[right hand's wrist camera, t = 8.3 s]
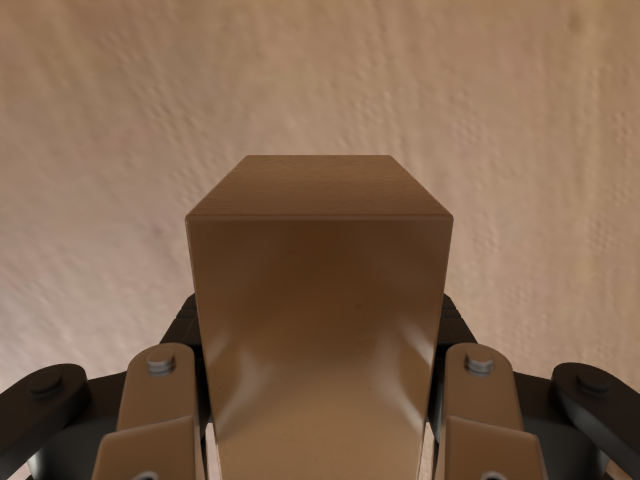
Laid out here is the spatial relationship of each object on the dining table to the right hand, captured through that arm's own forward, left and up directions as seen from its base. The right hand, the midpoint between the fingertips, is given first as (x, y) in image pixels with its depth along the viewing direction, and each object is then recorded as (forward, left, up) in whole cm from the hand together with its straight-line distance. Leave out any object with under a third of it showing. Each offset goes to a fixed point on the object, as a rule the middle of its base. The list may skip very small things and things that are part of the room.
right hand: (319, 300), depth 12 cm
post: (+21, -24, -2) cm, 32 cm away
